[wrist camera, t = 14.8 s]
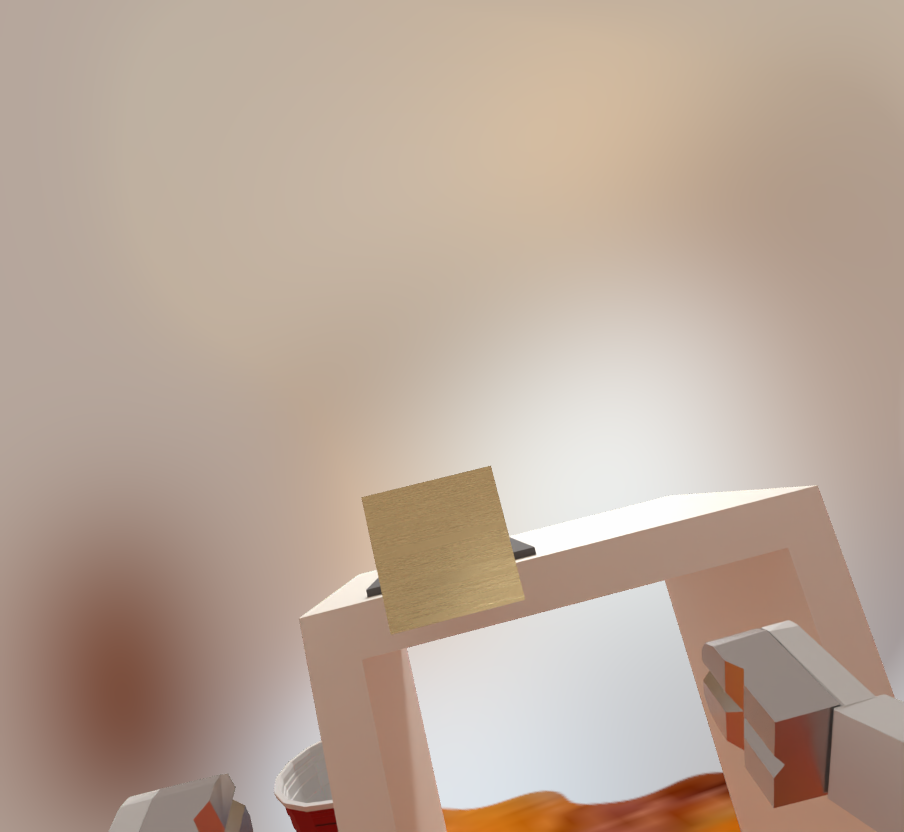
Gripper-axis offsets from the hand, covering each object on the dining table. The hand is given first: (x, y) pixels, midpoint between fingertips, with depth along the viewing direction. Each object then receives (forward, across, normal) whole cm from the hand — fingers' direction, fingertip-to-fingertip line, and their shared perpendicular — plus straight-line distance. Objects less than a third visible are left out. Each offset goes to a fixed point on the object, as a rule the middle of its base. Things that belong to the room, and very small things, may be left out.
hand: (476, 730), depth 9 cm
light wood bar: (+12, 0, +5) cm, 13 cm away
